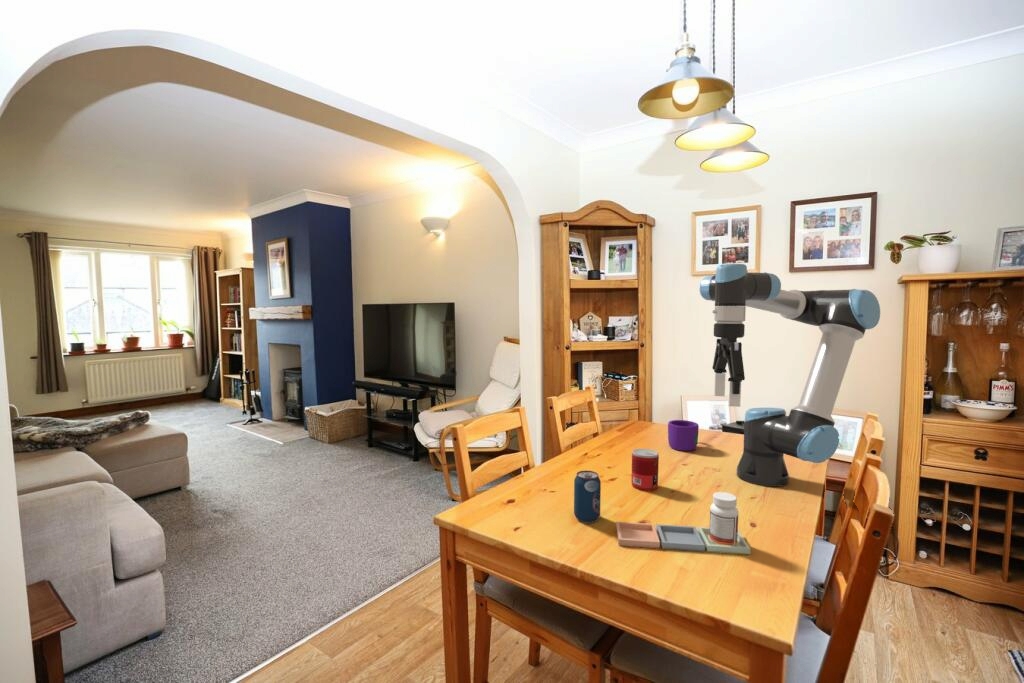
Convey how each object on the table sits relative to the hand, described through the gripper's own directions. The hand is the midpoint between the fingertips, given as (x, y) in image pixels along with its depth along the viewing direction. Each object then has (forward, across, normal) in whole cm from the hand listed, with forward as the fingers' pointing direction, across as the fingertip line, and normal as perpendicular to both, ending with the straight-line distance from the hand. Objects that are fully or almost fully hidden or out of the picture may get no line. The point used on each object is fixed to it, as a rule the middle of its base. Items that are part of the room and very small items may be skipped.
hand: (726, 401), depth 131 cm
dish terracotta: (+31, +19, -25) cm, 44 cm away
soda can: (+31, +10, -37) cm, 49 cm away
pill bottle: (+31, +19, -5) cm, 36 cm away
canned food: (+31, -15, -19) cm, 39 cm away
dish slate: (+31, +19, -15) cm, 39 cm away
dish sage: (+31, +19, -5) cm, 36 cm away
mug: (+31, -61, +2) cm, 68 cm away
